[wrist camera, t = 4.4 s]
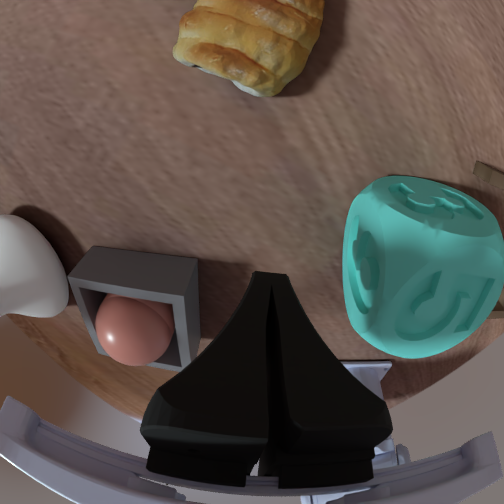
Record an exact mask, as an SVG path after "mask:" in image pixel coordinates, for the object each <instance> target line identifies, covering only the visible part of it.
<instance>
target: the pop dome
mask: <svg viewBox="0 0 504 504" xmlns="http://www.w3.org/2000/svg"><path fill="white" fill-rule="evenodd" d="M95 326H96V333H97V337H98V340H99V342H100V344H101V346H102V347H103V349H104V350H105V351H106V353H107V354H108V355H109V356H111V357H112V358H113V359H115V360H116V361H118V362H120V363H123V364H126V365H130V366H142V365H146V364H149V363H152V362H154V361H155V360H157V359H158V358H159V357H161V356H162V355H163V353H164V352H165V351H166V349H167V348H168V346H169V344H170V341H171V338H172V335H173V332H174V329H175V320H174V313H173V305H172V304H170V303H163V302H157V301H151V300H145V299H139V298H133V297H127V296H122V295H116V294H111V293H107V295H106V297H105V298H104V300H103V301H102V303H101V305H100V307H99V309H98V312H97V315H96V321H95Z"/></svg>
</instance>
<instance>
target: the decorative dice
mask: <svg viewBox="0 0 504 504" xmlns="http://www.w3.org/2000/svg"><path fill="white" fill-rule="evenodd" d="M503 284H504V240H503V236H502V233H501V230H500V227H499V224H498V222H497V220H496V218H495V216H494V215H493V214H492V213H491V212H490V211H489V210H488V209H487V208H486V207H485V206H484V205H483V204H481V203H480V202H478V201H477V200H475V199H474V198H472V197H471V196H469V195H467V194H465V193H463V192H461V191H459V190H457V189H455V188H452V187H450V186H447V185H444V184H441V183H438V182H435V181H431V180H427V179H422V178H417V177H410V176H386V177H382V178H379V179H377V180H375V181H374V182H372V183H371V184H370V185H368V186H367V187H366V188H365V189H363V190H362V191H361V192H360V193H359V194H358V195H357V196H356V198H355V199H354V200H353V202H352V204H351V207H350V209H349V213H348V216H347V221H346V226H345V233H344V243H343V288H344V297H345V304H346V309H347V313H348V317H349V320H350V322H351V325H352V327H353V328H354V329H355V331H356V332H357V333H358V334H359V335H360V336H361V337H362V338H364V339H365V340H366V341H367V342H369V343H370V344H371V345H373V346H375V347H376V348H378V349H380V350H382V351H384V352H386V353H389V354H392V355H395V356H399V357H403V358H423V357H428V356H432V355H435V354H438V353H441V352H443V351H445V350H448V349H450V348H451V347H453V346H455V345H457V344H458V343H460V342H461V341H463V340H464V339H466V338H467V337H468V336H469V335H471V334H472V333H473V332H474V331H475V330H476V329H477V328H478V327H479V326H480V325H481V324H482V323H483V322H484V321H485V320H486V318H487V317H488V316H489V314H490V313H491V311H492V310H493V308H494V307H495V305H496V303H497V301H498V299H499V297H500V294H501V291H502V288H503Z"/></svg>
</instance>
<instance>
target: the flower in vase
mask: <svg viewBox="0 0 504 504" xmlns="http://www.w3.org/2000/svg"><path fill="white" fill-rule="evenodd" d="M68 299H69V291H68V281H67V277H66V273H65V270H64V268H63V266H62V263H61V261H60V259H59V258H58V256H57V254H56V252H55V251H54V249H53V248H52V246H51V245H50V243H49V242H48V241H47V240H46V238H45V237H44V236H43V235H42V234H41V233H40V232H39V231H38V230H37V229H36V228H35V227H34V226H33V225H32V224H30V223H29V222H28V221H26V220H24V219H23V218H20V217H18V216H15V215H8V214H2V215H0V317H1V316H2V315H5V314H7V313H16V314H22V315H27V316H33V317H53V316H55V315H57V314H59V313H60V312H62V311H63V310H64V309H65V308H66V306H67V304H68Z"/></svg>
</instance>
